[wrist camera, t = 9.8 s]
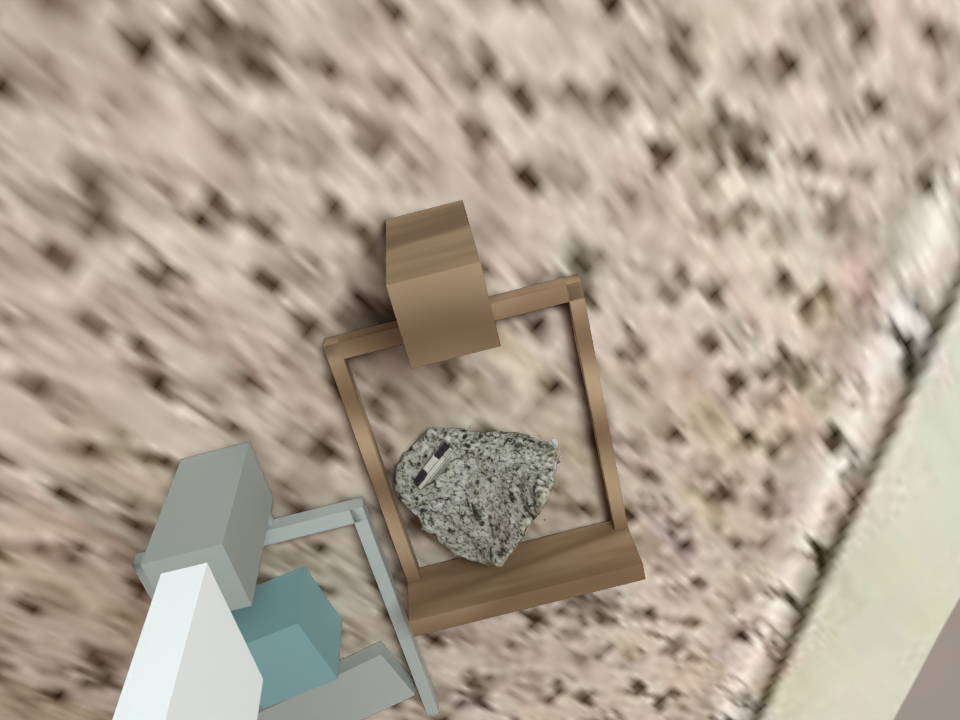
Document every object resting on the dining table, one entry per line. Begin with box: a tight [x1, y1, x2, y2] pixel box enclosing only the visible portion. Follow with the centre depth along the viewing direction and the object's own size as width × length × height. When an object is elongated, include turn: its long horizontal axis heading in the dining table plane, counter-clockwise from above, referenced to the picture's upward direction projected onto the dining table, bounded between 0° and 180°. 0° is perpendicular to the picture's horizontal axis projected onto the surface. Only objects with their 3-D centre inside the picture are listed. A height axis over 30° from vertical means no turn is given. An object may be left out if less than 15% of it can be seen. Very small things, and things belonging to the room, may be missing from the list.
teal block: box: [231, 566, 342, 708], centre depth 52 cm, size 5×5×5 cm
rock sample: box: [385, 424, 562, 567], centre depth 49 cm, size 10×8×9 cm
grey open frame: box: [132, 442, 439, 715], centre depth 50 cm, size 24×14×9 cm, turn 13°
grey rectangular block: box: [257, 641, 415, 720], centre depth 57 cm, size 4×10×1 cm, turn 118°
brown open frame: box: [323, 200, 645, 636], centre depth 44 cm, size 24×14×9 cm, turn 13°
